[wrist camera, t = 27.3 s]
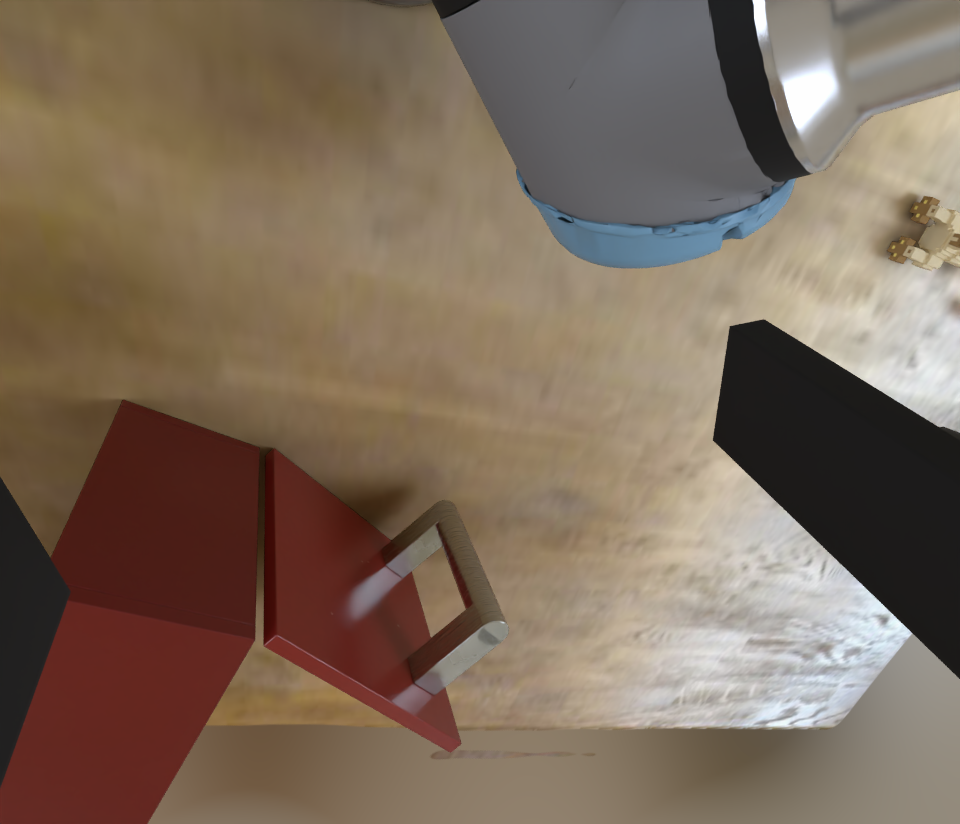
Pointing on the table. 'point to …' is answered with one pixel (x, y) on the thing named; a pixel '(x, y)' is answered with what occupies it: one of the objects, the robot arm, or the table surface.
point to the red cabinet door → (370, 601)
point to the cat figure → (931, 237)
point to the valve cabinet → (140, 622)
